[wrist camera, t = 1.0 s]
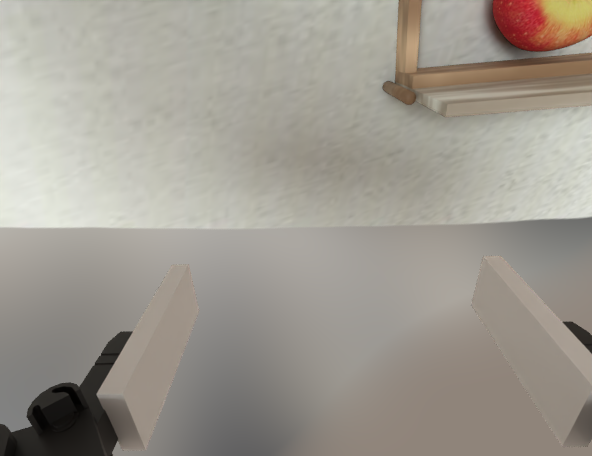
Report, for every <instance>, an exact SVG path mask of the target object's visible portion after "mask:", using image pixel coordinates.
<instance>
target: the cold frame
mask: <svg viewBox="0 0 592 456" xmlns="http://www.w3.org/2000/svg"><path fill="white" fill-rule="evenodd" d="M421 3H422V0H399V7H398V29H397V51H396V74H395V83H393V82H390V81H386V82H385V83H384V84H383V90H384V91H385V92H387V93H389V94H390V95H392V96H393V97H395V98H397V99H398V100H400V101H402V102H403V103H405V104H407V105H411V104H413V103H414V102H415V101H416V102H418V103H420V104H422V105H424V106H426V107H427V108H429V109H431V110H433V111H435V112H437V113H439V114H441V115H443V116H444V117H455V116H468V115H480V114H492V113H504V112H517V111H529V110H541V109H553V108H565V107H578V106H590V105H592V53H585V54H573V55H562V56H551V57H540V58H529V59H517V60H506V61H495V62H484V63H473V64H461V65H450V66H439V67H428V68H417V59H418V45H419V31H420V17H421Z"/></svg>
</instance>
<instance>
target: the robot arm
mask: <svg viewBox="0 0 592 456" xmlns="http://www.w3.org/2000/svg"><path fill="white" fill-rule="evenodd" d="M471 306H472V307H473V309H474V310H475V312H476V313H477V315H478V317H479V318H480V320H481V321H482V323H483V324H484V326H485V327H486V329H487V331H488V332H489V334H490V335H491V337H492V338H493V340H494V342H495V343H496V345H497V346H498V348H499V349H500V351H501V352H502V354H503V356H504V357H505V359H506V360H507V362H508V363H509V365H510V366H511V368H512V369H513V371H514V373H515V374H516V376H517V377H518V379H519V380H520V382H521V384H522V385H523V387H524V388H525V390H526V391H527V393H528V395H529V396H530V398H531V399H532V401H533V402H534V404H535V405H536V407H537V408H538V410H539V412H540V413H541V415H542V416H543V418H544V419H545V421H546V423H547V424H548V426H549V427H550V429H551V430H552V432H553V433H554V435H555V437H556V438H557V440H558V441H559V443H560V444H561V446H562V447H582V446H583V447H584V446H585V447H586V446H588V445H589V443H590V441H591V439H592V335H591V334H590V333H589V332H587V331H586V330H584V329H583V328H581V327H580V326H578V325H576V324H575V323H573V322H561V320H560V319H559V318H558V317H557V316H556V315H555V314H554V313H553V312H552V311H551V310H550V309H549V307H548V306H547V305H546V304H545V303H544V302H543V301H542V300H541V299H540V298H539V297H538V296H537V294H536V293H535V292H534V291H533V290H532V289H531V288H530V287H529V286H528V285H527V284H526V283H525V281H524V280H523V279H522V278H521V277H520V276H519V275H518V274H517V273H516V272H515V271H514V270H513V269H512V267H511V266H510V265H509V264H508V263H507V262H506V261H505V260H504V259H503V258H502V257H501V256H484V257H483V259H482V263H481V267H480V271H479V275H478V279H477V283H476V288H475V292H474V296H473V300H472V304H471ZM198 313H199V308H198V304H197V299H196V295H195V290H194V286H193V281H192V277H191V272H190V268H189V265H188V264H187V265H172V266H171V268H170V269H169V271H168V273H167V275H166V277H165V278H164V280H163V281H162V283H161V285H160V287H159V288H158V290H157V292H156V293H155V295H154V297H153V298H152V300H151V302H150V304H149V305H148V307H147V309H146V310H145V312H144V314H143V316H142V318H141V319H140V321H139V323H138V324H137V326H136V327H135V329H134V331H132V332H120V333H119V334H117V335H116V336H115V337H114V338H113V339H112V340H110V341H109V342H108V344H107V345H106V347H105V348H104V350H103V352H102V353H101V356H99V358H98V359H97V361H96V362H95V366H93V367H92V368H91V370H90V372H89V373H88V375H87V376H86V378H85V379H84V381H83V383H82V384H81V385H80V387H78V385H77V384H74V383H61V384H58V385H55V386H53V387H51V388H49V389H48V390H46V391H44V392H42V393H41V394H40V395H39V396H38V397H37V398H36V399H35V400H34V401H33V402H32V404H31V405H30V407H29V408H28V412H27V418H28V420H29V421H30V423H31V425H32V427H28V428H25V429H21V430H18V431H15V432H10V430H9V429H8V428H7V427H6V426H5V425H3V424H0V456H113V454H112V451H113V449H114V447H115V445H116V443H117V441H118V442H119V444H120V446H121V448H122V450H123V451H131V450H132V451H134V450H146V449H147V446H148V443H149V441H150V438H151V435H152V433H153V431H154V428H155V425H156V423H157V420H158V417H159V415H160V412H161V410H162V407H163V404H164V402H165V399H166V396H167V394H168V391H169V389H170V386H171V383H172V381H173V378H174V376H175V373H176V371H177V368H178V365H179V362H180V360H181V357H182V355H183V352H184V349H185V347H186V345H187V342H188V339H189V337H190V334H191V331H192V329H193V326H194V323H195V321H196V318H197V316H198Z"/></svg>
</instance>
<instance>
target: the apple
mask: <svg viewBox="0 0 592 456" xmlns="http://www.w3.org/2000/svg"><path fill="white" fill-rule="evenodd" d="M493 15H494V19H495V22H496V24H497V26H498V28H499V30H500V31H501V33H502V34H503V35H504V37H505V38H506V39H507V40H508V41H509V42H510V43H511V44H513V45H514V46H516V47H518V48H520V49H523V50H526V51H535V52H541V51H551V50H556V49H560V48H564V47H567V46H570V45H573V44H576V43H578V42H580V41H582V40H585V39H586V38H588V37H590V36H592V0H493Z"/></svg>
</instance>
